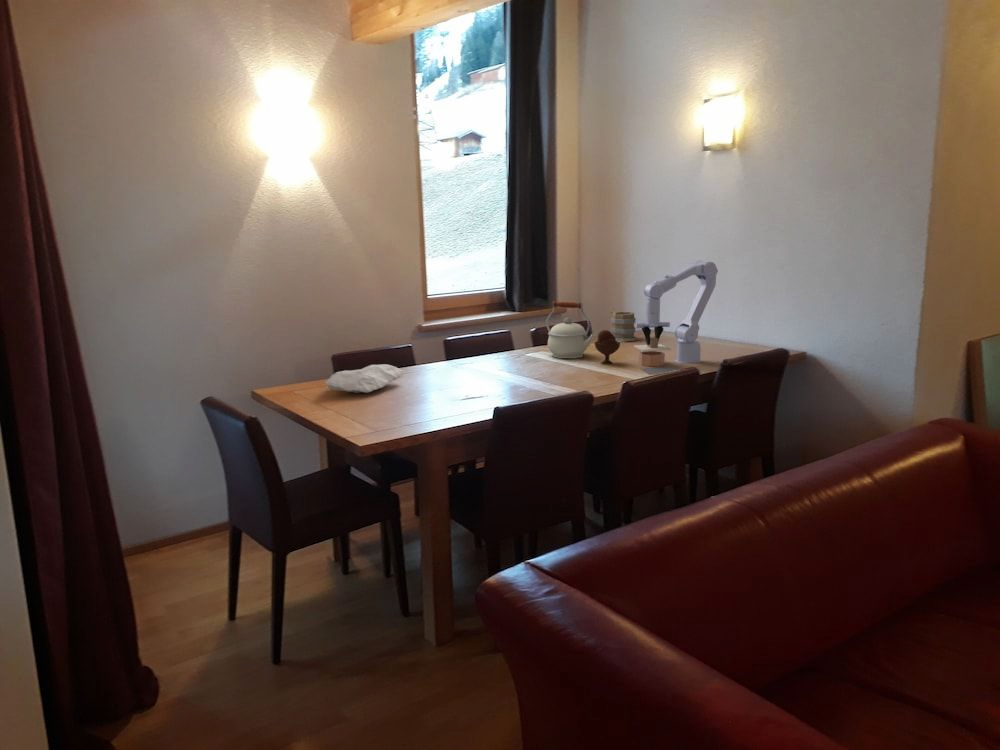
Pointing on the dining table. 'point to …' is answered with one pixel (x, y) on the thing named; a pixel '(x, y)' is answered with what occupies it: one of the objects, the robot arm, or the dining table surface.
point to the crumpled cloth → (364, 378)
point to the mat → (659, 370)
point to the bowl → (651, 358)
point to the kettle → (568, 335)
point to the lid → (652, 346)
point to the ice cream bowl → (606, 345)
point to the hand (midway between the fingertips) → (652, 344)
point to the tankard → (623, 326)
